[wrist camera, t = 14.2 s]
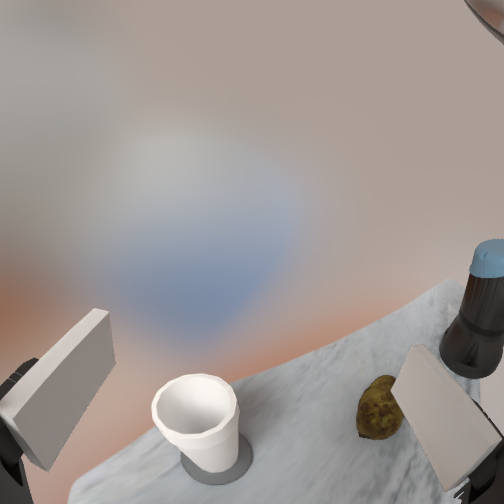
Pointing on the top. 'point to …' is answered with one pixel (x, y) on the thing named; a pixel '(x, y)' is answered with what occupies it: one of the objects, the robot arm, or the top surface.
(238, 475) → the coaster
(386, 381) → the potato
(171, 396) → the foam cup
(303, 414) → the top surface
